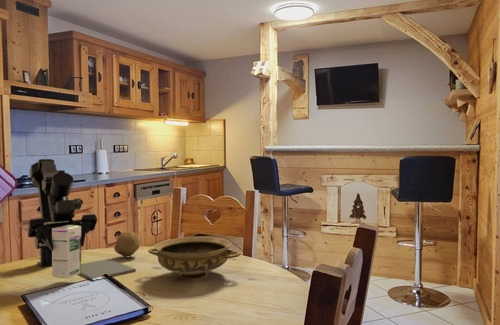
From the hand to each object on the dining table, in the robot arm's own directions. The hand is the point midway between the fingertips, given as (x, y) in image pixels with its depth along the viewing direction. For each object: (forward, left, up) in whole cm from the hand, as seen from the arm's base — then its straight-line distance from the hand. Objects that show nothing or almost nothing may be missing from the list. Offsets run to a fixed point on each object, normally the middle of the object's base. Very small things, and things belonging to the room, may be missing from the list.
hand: (68, 247), depth 111 cm
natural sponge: (-17, +28, -11) cm, 35 cm away
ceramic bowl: (+21, +30, -11) cm, 38 cm away
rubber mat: (-7, +13, -11) cm, 18 cm away
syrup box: (-1, 0, -9) cm, 9 cm away
